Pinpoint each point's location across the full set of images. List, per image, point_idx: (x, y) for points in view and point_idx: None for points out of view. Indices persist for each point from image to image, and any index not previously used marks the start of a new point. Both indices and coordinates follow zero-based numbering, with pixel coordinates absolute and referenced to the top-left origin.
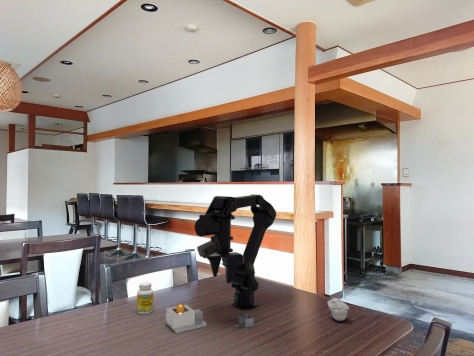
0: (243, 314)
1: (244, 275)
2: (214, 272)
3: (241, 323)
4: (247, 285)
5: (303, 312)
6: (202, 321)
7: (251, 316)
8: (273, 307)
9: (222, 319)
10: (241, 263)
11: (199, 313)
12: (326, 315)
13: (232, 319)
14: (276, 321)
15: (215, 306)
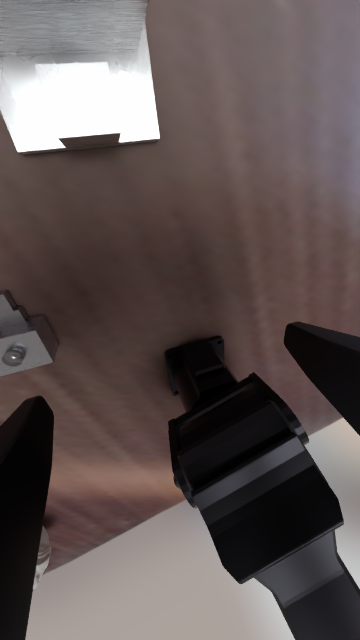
0: (42, 349)
1: (195, 489)
2: (315, 348)
3: (4, 322)
4: (174, 442)
5: (96, 475)
6: (44, 136)
7: (13, 372)
8: (152, 426)
9: (98, 264)
10: (280, 555)
11: (48, 106)
12: (65, 508)
13: (88, 302)
14: None
15: (232, 276)
